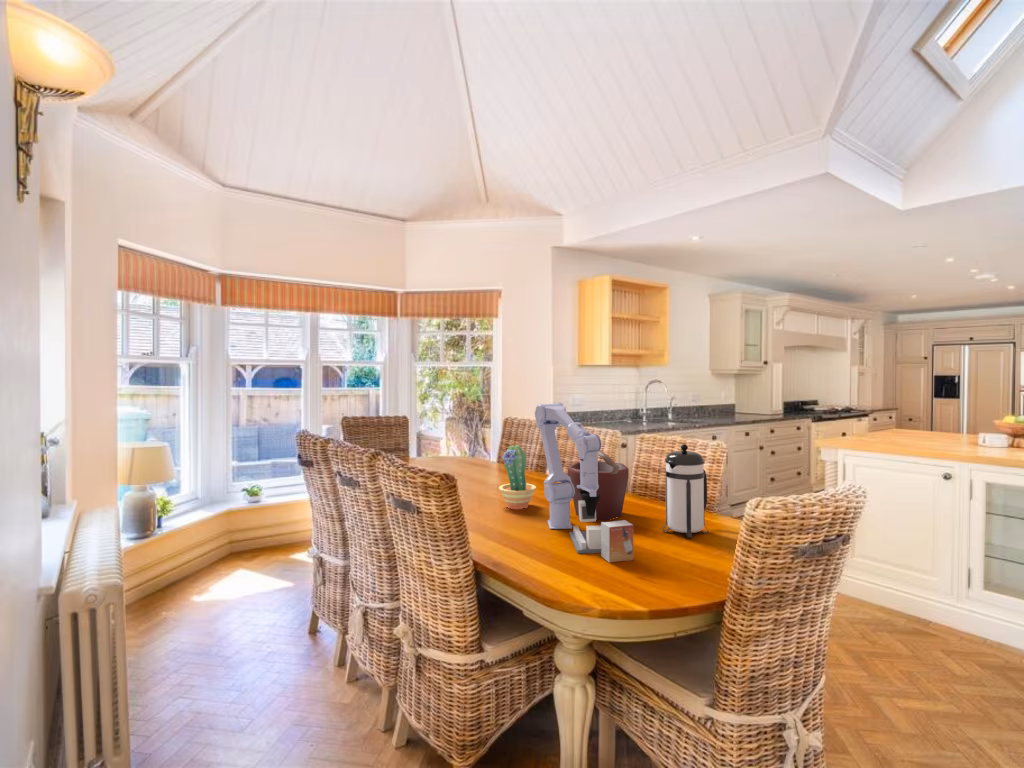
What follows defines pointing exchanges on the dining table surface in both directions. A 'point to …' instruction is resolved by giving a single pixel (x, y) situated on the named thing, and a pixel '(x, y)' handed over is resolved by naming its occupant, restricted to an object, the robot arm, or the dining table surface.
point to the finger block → (585, 513)
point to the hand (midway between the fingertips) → (589, 513)
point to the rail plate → (587, 539)
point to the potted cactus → (516, 479)
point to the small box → (617, 541)
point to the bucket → (604, 487)
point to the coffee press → (685, 492)
